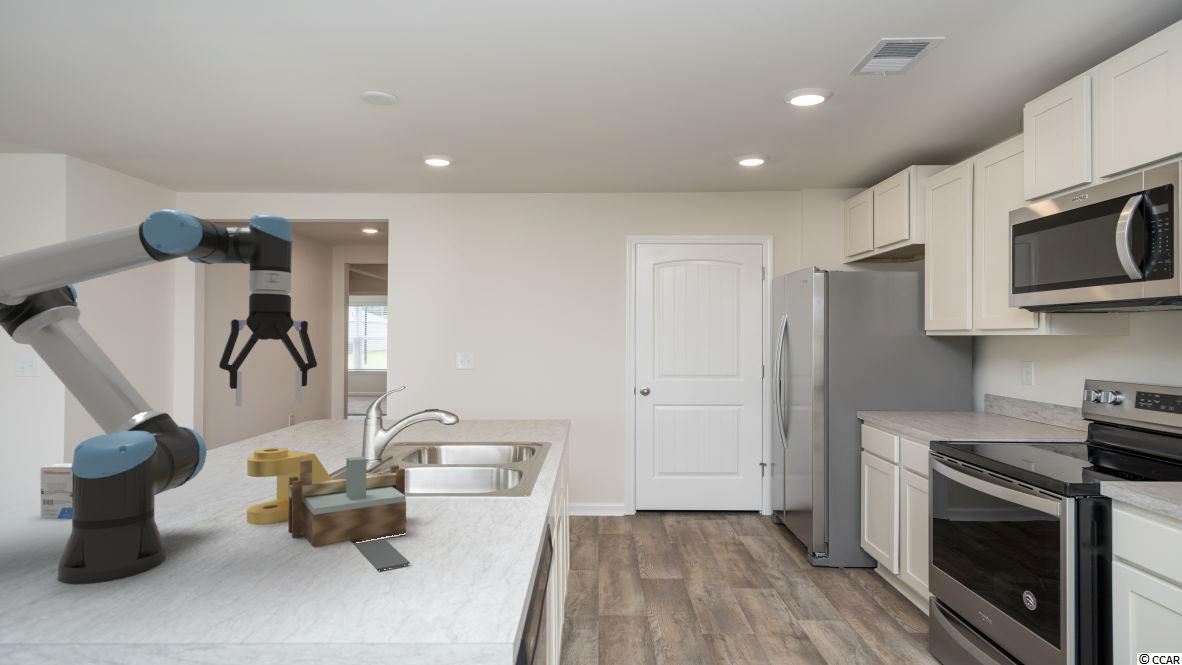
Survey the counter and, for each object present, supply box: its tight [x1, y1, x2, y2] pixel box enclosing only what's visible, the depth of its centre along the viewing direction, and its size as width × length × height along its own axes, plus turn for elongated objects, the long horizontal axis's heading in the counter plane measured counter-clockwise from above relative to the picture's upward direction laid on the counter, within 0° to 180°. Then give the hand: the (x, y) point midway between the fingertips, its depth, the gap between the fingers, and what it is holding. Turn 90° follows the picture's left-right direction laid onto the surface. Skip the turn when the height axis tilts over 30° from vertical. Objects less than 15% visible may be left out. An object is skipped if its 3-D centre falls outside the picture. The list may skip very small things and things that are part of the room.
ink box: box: [40, 462, 73, 520], centre depth 143 cm, size 9×5×12 cm, turn 84°
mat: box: [353, 539, 411, 572], centre depth 114 cm, size 20×15×1 cm
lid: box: [302, 455, 407, 515], centre depth 131 cm, size 18×13×9 cm
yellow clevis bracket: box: [246, 447, 333, 526], centre depth 144 cm, size 20×9×16 cm, turn 151°
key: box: [289, 459, 396, 498], centre depth 134 cm, size 23×2×7 cm, turn 124°
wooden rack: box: [287, 464, 407, 548], centre depth 131 cm, size 23×14×12 cm, turn 124°
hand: (269, 404), depth 126 cm, fingers open, 10 cm apart
